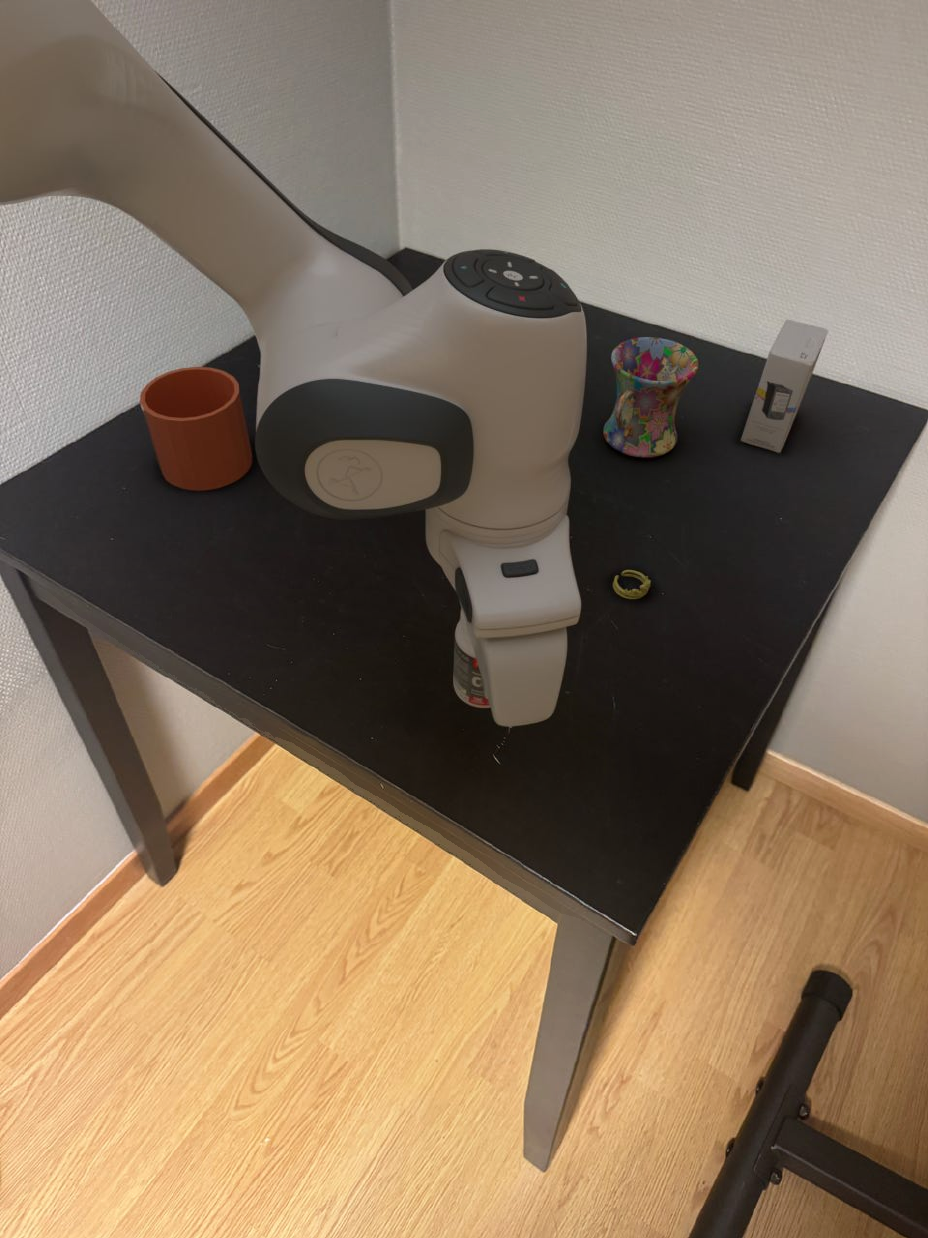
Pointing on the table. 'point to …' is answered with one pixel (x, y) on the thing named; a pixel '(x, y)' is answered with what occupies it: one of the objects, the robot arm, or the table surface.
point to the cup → (197, 427)
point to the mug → (648, 395)
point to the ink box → (783, 384)
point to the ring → (635, 592)
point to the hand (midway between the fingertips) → (485, 659)
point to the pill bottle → (467, 669)
